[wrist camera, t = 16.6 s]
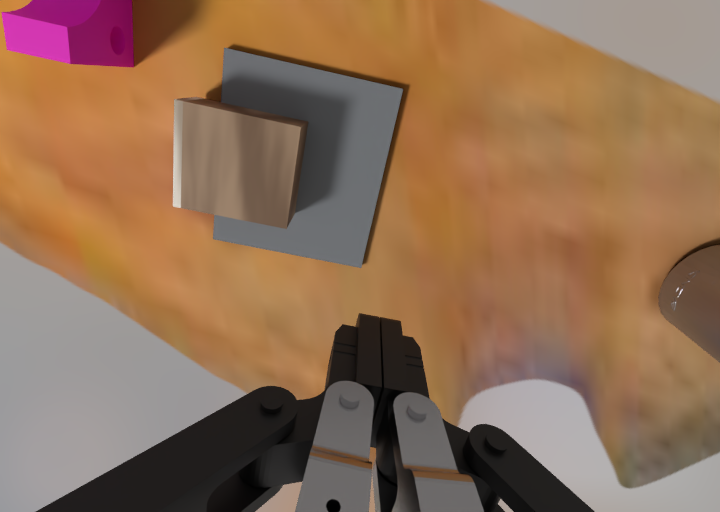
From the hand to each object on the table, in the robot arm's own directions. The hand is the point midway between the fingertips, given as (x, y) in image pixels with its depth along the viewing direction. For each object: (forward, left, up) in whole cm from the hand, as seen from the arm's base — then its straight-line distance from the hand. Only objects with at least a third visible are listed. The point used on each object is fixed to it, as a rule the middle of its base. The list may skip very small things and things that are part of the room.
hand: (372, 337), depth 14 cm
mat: (+6, 0, -22) cm, 23 cm away
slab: (+6, 0, -20) cm, 21 cm away
